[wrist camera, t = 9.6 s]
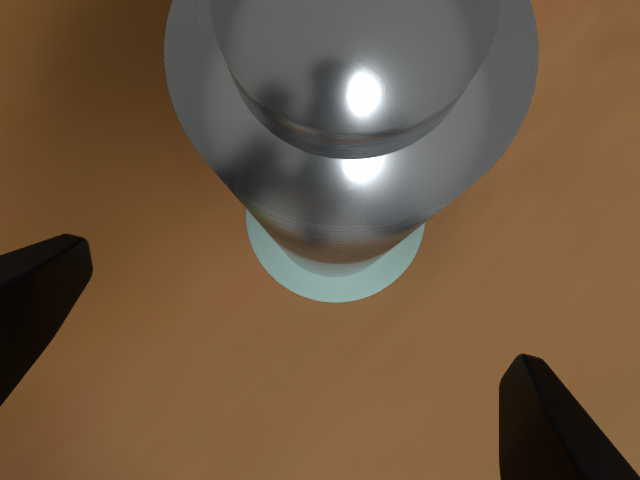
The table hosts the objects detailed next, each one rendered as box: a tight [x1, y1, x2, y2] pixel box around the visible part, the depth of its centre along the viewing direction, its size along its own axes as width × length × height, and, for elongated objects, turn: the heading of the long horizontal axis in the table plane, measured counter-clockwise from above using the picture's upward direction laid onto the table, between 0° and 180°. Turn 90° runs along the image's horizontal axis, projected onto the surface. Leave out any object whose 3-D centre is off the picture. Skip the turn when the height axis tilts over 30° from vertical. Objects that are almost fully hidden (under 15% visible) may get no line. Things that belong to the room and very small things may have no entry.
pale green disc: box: [246, 209, 425, 302], centre depth 19 cm, size 8×8×1 cm
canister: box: [164, 0, 538, 277], centre depth 12 cm, size 6×6×14 cm
